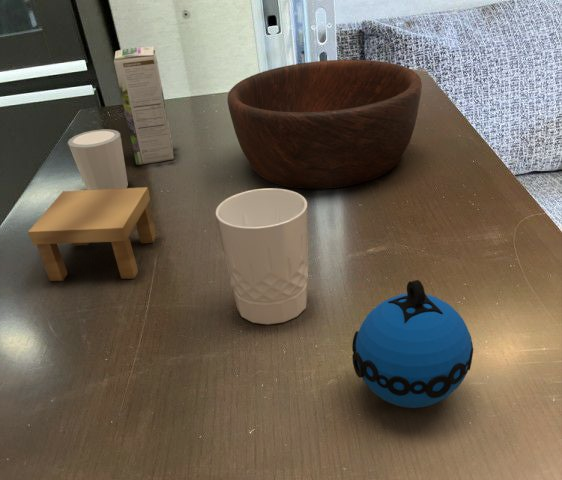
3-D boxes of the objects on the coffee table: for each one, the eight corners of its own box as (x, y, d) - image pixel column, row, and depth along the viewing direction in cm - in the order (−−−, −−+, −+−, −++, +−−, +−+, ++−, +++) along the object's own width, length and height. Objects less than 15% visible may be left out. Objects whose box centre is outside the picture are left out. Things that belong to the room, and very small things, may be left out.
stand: (46, 282, 67) (27, 231, 63) (78, 239, 75) (62, 191, 71) (136, 280, 66) (122, 227, 62) (159, 235, 73) (147, 186, 70)
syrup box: (136, 153, 96) (112, 50, 87) (174, 147, 97) (154, 44, 88) (136, 166, 92) (110, 58, 83) (176, 160, 92) (155, 52, 83)
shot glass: (106, 175, 90) (93, 126, 86) (142, 182, 87) (130, 131, 82) (72, 194, 86) (56, 143, 81) (108, 201, 82) (94, 148, 78)
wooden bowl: (267, 216, 75) (258, 129, 68) (218, 151, 94) (207, 78, 87) (453, 174, 80) (460, 89, 73) (370, 121, 98) (371, 49, 92)
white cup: (214, 309, 60) (196, 211, 54) (273, 275, 64) (263, 181, 58) (271, 339, 55) (258, 236, 49) (330, 301, 59) (326, 201, 53)
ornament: (489, 415, 46) (508, 299, 39) (380, 445, 44) (382, 330, 38) (434, 349, 52) (443, 241, 46) (337, 374, 51) (334, 266, 44)
